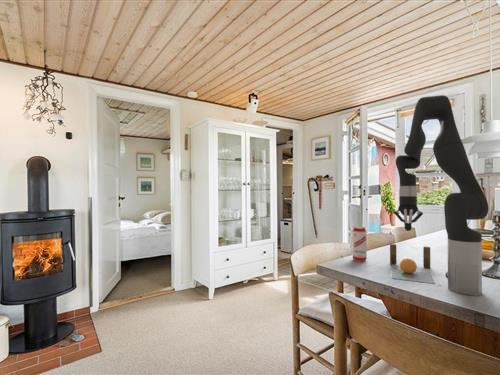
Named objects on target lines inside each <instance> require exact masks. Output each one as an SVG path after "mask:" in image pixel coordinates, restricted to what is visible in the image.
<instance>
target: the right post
mask: <svg viewBox="0 0 500 375" xmlns="http://www.w3.org/2000/svg"><path fill="white" fill-rule="evenodd" d="M422 249H423V250H422V251H423V253H422V254H423V255H422V257H423V260H422V261H423V264H422V265H423V268H424V269H427V270H428V269H429V270H430V269H431V247H430V246H423V248H422Z"/></svg>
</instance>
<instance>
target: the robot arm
mask: <svg viewBox="0 0 500 375" xmlns="http://www.w3.org/2000/svg"><path fill="white" fill-rule="evenodd" d="M453 112H454V111H453V107H452V104H451V101H450V99H449V97H448V96H446V95H444V94H443V95H442V94H441V95H439V94H438V95H431V96H429V95H428V96H421V97H420V98H418V100H417V102H416V105H415V106H414V111H413V116H412V120H411V128H410V131H409V136H408V139H407V142H406V144H405V147H404V149H403V150H404V154H399V155H397V156H396V158H395V165H396V166H395V167H396V168H397V173H398V176H399V190H398V192H399V193H398V194H399V195H398V199H399V203H398V204H399V205H398V207H397V208H398V209H396V210H394V211H393V214H394V215H395V216H396V217H397V218H398V220H399V221H400V222H402V223H404V230H405V231H406V232H410V231H412V224H413V223H416V222H417V221H418V220H419V219H420V218H421V217H422V216H423V214H424V213H423V212H422V211H420V210H419V207H418V188H417V176H416V174H413V173H409V172H407V169H408V170H416V169H417V168H419V167H420V165H421V156H422V152H423V150H424V147H425V145H426V142H427V137H426V134H425V131H424V129H423V127H422V126H423V122H425V121H430V120H437V121H438V122H439V125H440V126H439V127H440V129H439V132H438V134H437V137H436V138H435V140H434V143H433V146H432V152H433V154H434V158H435V161H436V163H437V166H438V167H439V168H440V169H441V170H442V171H443V173H445V174H446V176H448V177H450V178H451V180H453V182H455V184H456V185H457V186H458V189H459V191H460V192H451V193H449V194H448V195H447V196H446V197H445V200H444V205H443V206H444V207H443V208H444V209H443V211H444V212H443V213H444V222H445V223H444V224H445V225H444V226H445V230H446V235H447V288H448V289H449V291H452V292H455V294H462V295H469V296H477V297H480V296H481V295H483V253H482V252H483V241H482V240H483V236H482V235H483V234H482V232H480V231H478V230H474V229H472V228H470V227H469V226H468V221H470V220H471V221H472V220H473V221H476V220H483V219H486V217H487V216H488V215H489V203H488V199H487V197H486V195H485V192H484V191H483V189H482V187H481V186H480V183H479V181H478V180H477V177H476V175H475V173H474V170H473V169H472V165H471V163H470V161H469V158H468V155H467V152H466V149H465V147H464V146H465V145H464V143H463V141H462V139H461V136H460V134H459V130H458V128H457V125H456V120H455V116H454V113H453ZM400 213H401V215H402V216H403V217H402V216H401V215H400ZM415 215H416V216H415ZM414 216H415V217H414ZM413 217H414V218H413ZM467 220H468V221H467Z"/></svg>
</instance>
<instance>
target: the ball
mask: <svg viewBox="0 0 500 375" xmlns="http://www.w3.org/2000/svg"><path fill="white" fill-rule="evenodd" d="M399 268H400V270H402V271H403V272H405V273H407V274H412V273H414V272H415V271H417V269H418V268H417V263H416V261H415V260H413V259H411V258H403V259H402V260H401V261H400V263H399Z"/></svg>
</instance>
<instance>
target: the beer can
mask: <svg viewBox="0 0 500 375" xmlns="http://www.w3.org/2000/svg"><path fill="white" fill-rule="evenodd" d="M352 259H353V260H354V262H356V263H357V262H358V263H362V262H363V263H364V262H365V261H367V259H368V258H367V230H366V227H365V226H354V227H353V228H352Z"/></svg>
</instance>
